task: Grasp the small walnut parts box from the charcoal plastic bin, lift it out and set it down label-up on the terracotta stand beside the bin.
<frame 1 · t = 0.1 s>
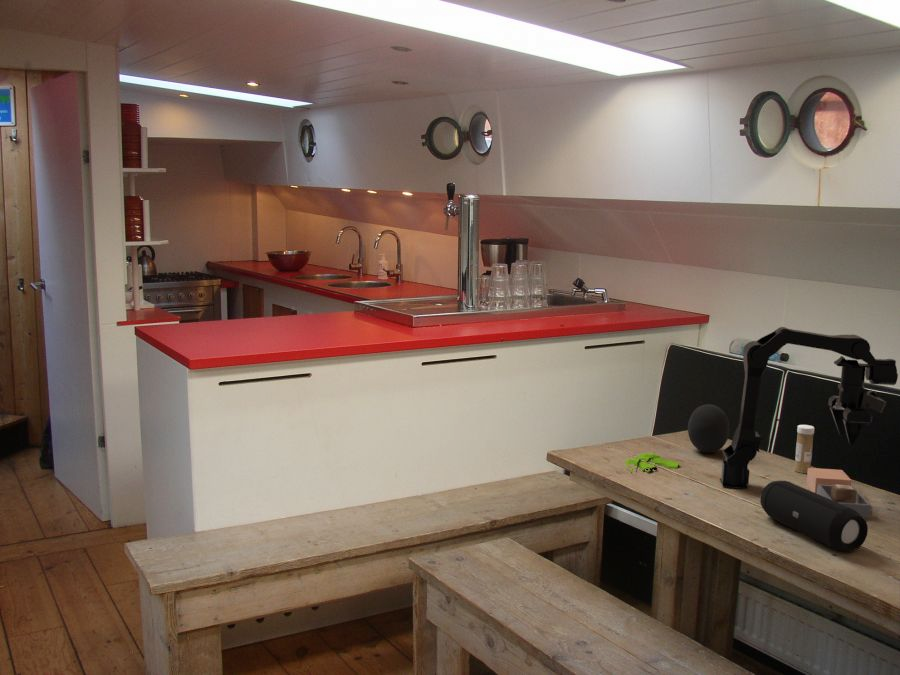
hand: (846, 439, 239), 15 cm above the table, tool pointing down, fingers open, 9 cm apart
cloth: (651, 468, 261), on the table
decorative egg: (706, 452, 276), on the table
terracotta stand: (827, 489, 243), on the table
charcoal bin: (842, 507, 229), on the table
sprinkles bottle: (802, 471, 259), on the table
portable speaker: (809, 535, 211), on the table
walnut box: (843, 497, 229), in the charcoal bin
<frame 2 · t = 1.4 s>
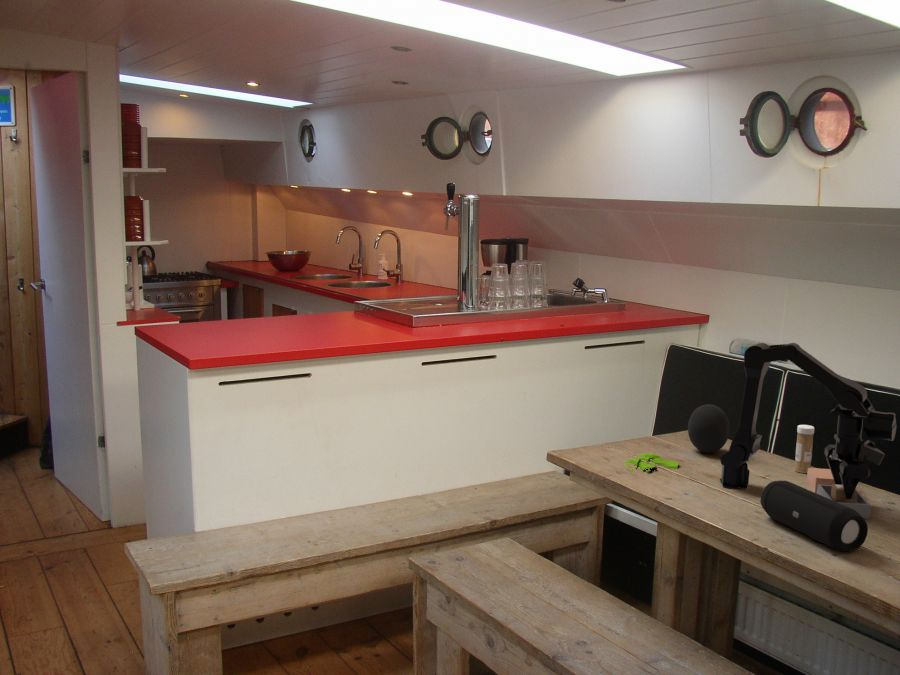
hand: (843, 492, 229), 4 cm above the table, tool pointing down, fingers open, 9 cm apart
nothing on the table moved.
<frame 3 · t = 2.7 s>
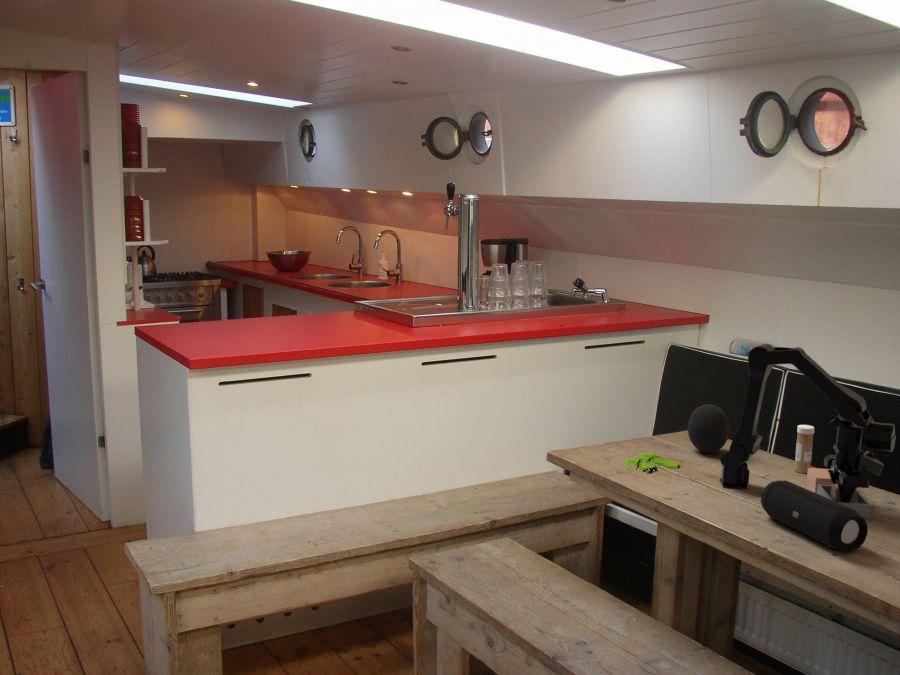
hand: (842, 503, 229), 1 cm above the table, tool pointing down, fingers closed on walnut box, 4 cm apart
walnut box: (843, 497, 229), in the charcoal bin, touching gripper
everything else where it was.
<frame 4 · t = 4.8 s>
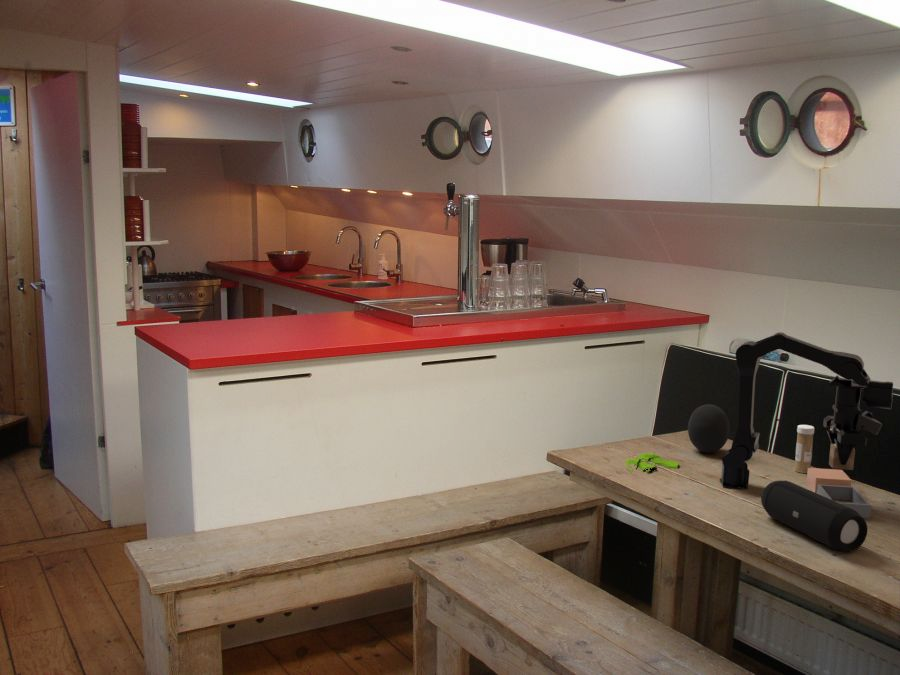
hand: (841, 462, 232), 11 cm above the table, tool pointing down, fingers closed on walnut box, 4 cm apart
walnut box: (841, 456, 231), point 12 cm above the table, touching gripper
everything else where it was.
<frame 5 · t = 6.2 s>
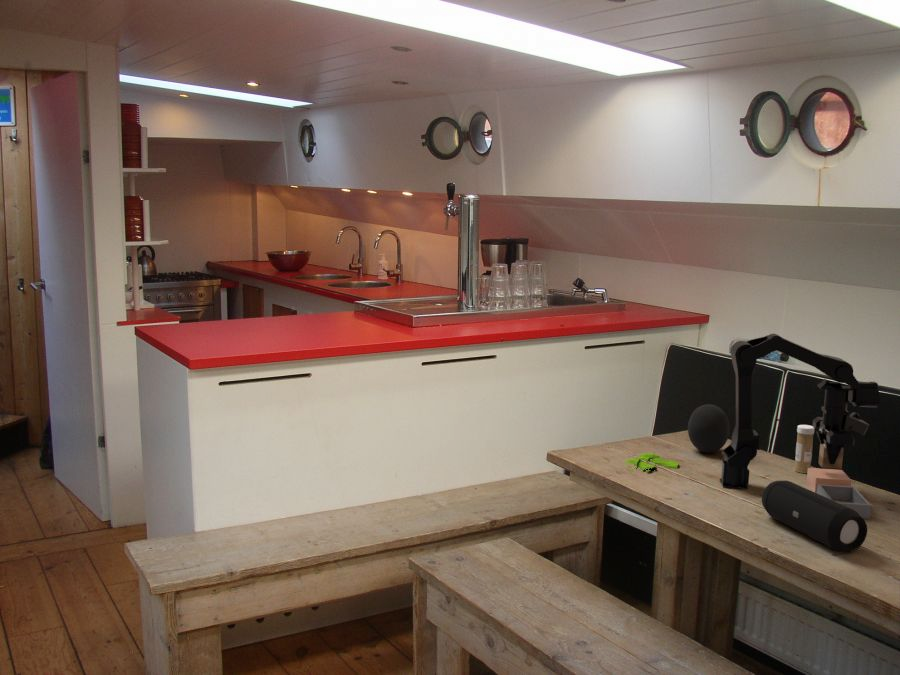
hand: (830, 461, 242), 8 cm above the table, tool pointing down, fingers closed on walnut box, 4 cm apart
walnut box: (830, 455, 241), point 10 cm above the table, touching gripper
everything else where it was.
when the fingers open (7 cm above the table, at t = 7.0 s): walnut box drops 2 cm, resting on terracotta stand.
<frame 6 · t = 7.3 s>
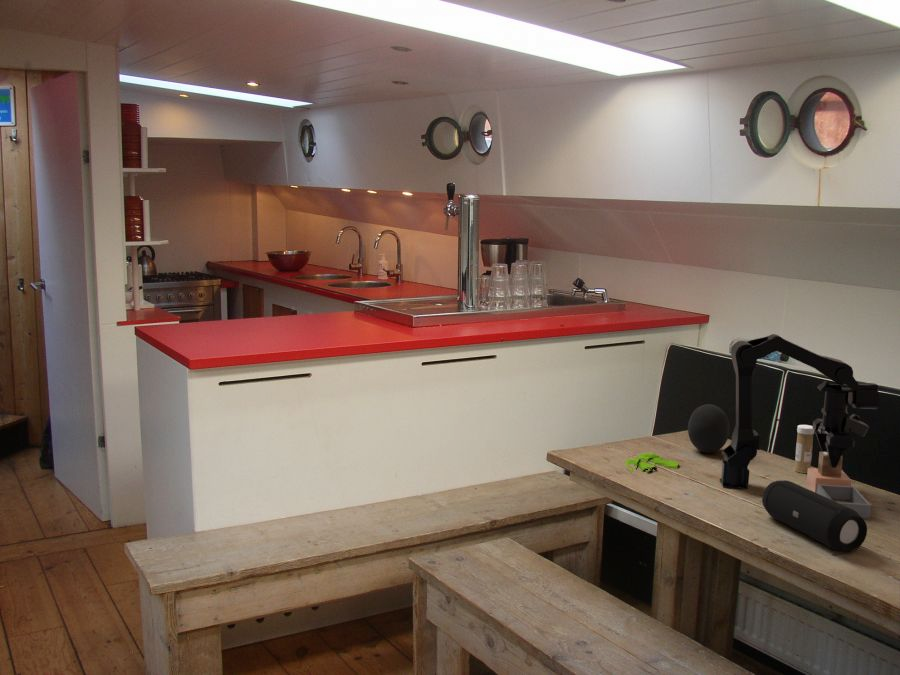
hand: (830, 463, 242), 7 cm above the table, tool pointing down, fingers open, 7 cm apart
walnut box: (830, 463, 242), on the terracotta stand, point 7 cm above the table
everything else where it was.
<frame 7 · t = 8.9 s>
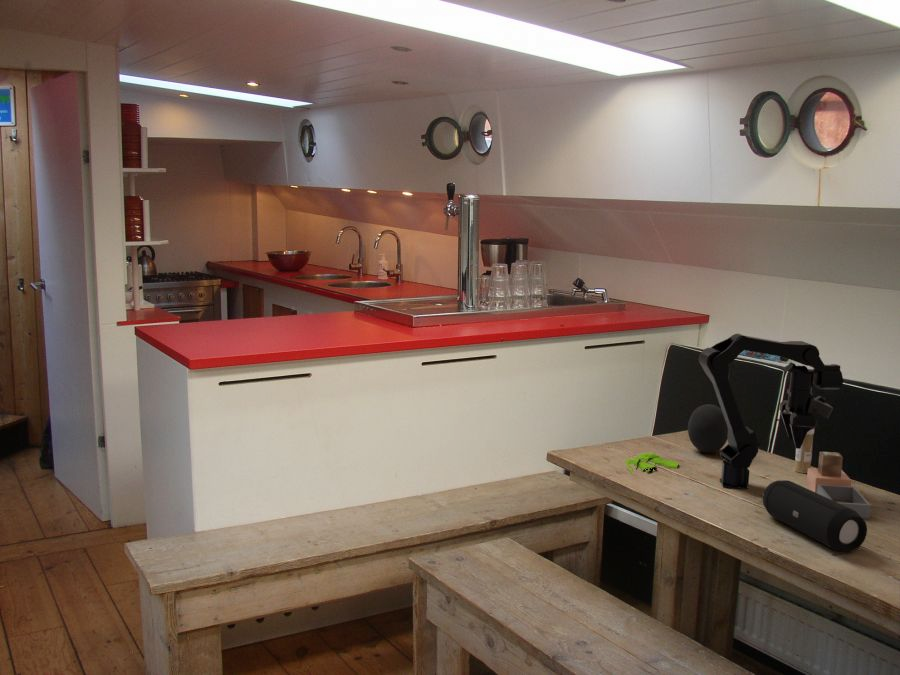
hand: (794, 443, 245), 12 cm above the table, tool pointing down, fingers open, 9 cm apart
nothing on the table moved.
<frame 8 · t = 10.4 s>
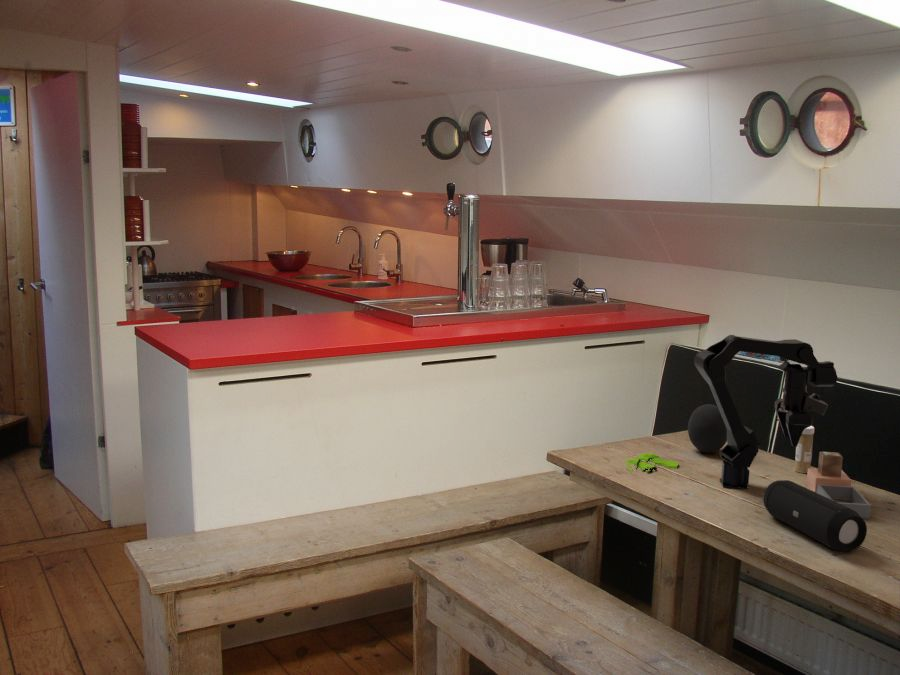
hand: (790, 441, 245), 12 cm above the table, tool pointing down, fingers open, 9 cm apart
nothing on the table moved.
at the end: walnut box 0.0 cm off-centre on the terracotta stand, point 7.3 cm above the terracotta stand's base; walnut box tilted 0°; the gripper is holding nothing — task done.
